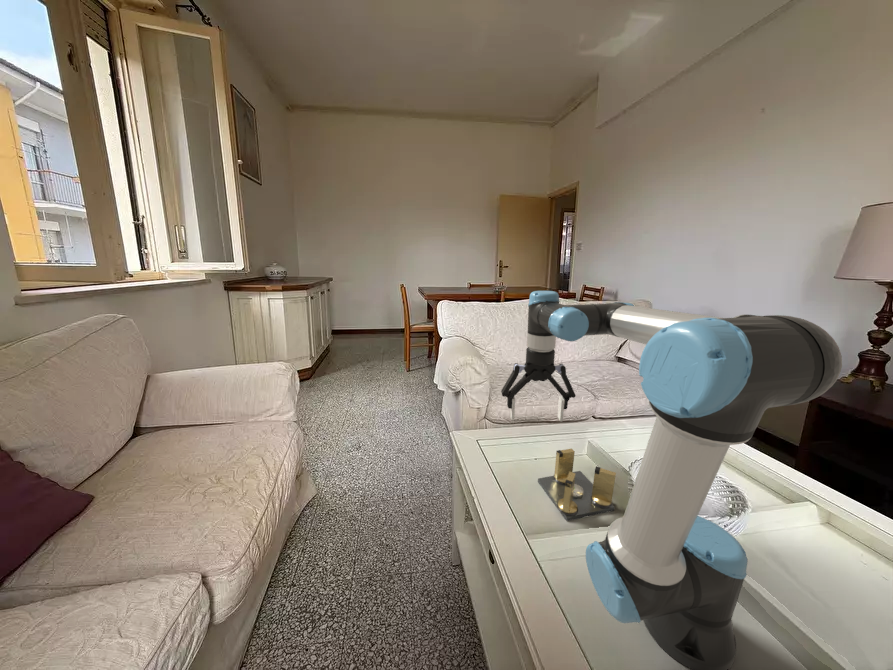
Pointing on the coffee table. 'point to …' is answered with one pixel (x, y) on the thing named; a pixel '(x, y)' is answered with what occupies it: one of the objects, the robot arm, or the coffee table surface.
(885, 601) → the coffee table surface
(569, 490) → the front knob
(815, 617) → the coffee table surface
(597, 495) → the side knob
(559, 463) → the far knob
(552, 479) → the plate
